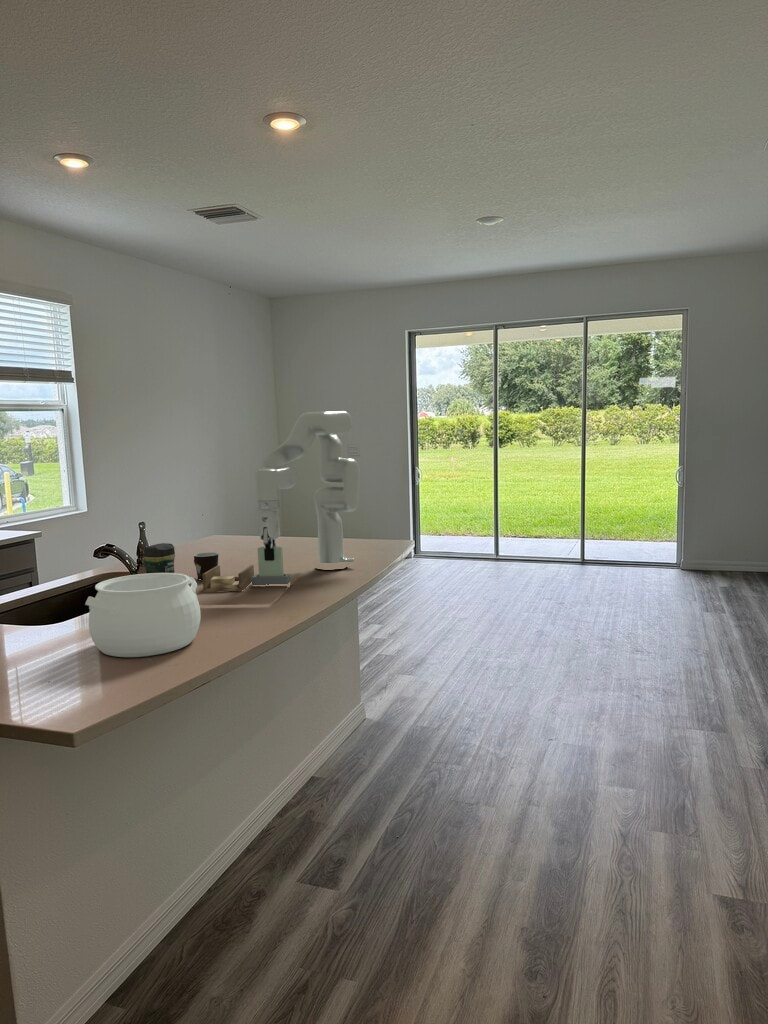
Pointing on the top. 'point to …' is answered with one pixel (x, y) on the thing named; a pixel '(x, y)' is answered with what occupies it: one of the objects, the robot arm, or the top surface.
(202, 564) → the coffee mug
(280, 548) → the board
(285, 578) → the holder
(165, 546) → the coffee jar
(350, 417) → the robot arm
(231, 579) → the offcut top
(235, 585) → the offcut low
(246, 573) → the rack
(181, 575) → the pot
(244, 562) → the top surface
